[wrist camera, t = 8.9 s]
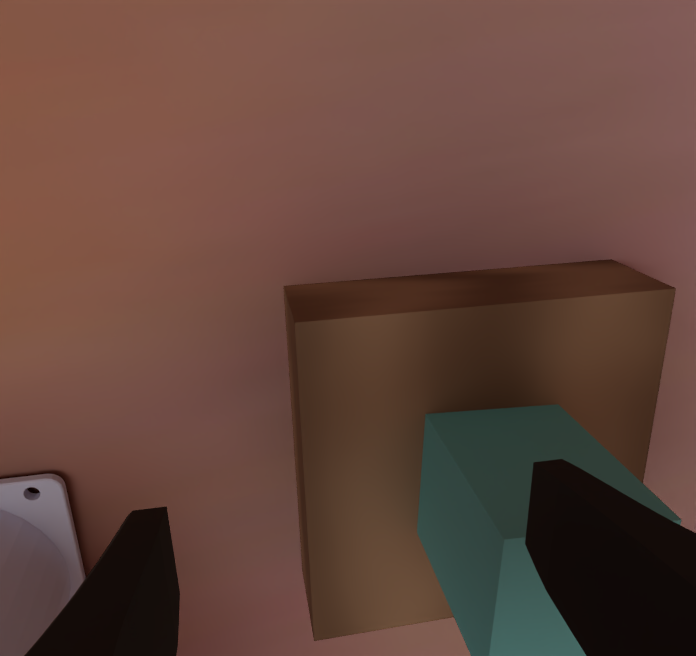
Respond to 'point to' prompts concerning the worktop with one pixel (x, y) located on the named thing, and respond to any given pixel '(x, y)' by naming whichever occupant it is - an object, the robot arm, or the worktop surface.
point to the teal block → (503, 520)
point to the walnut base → (446, 405)
